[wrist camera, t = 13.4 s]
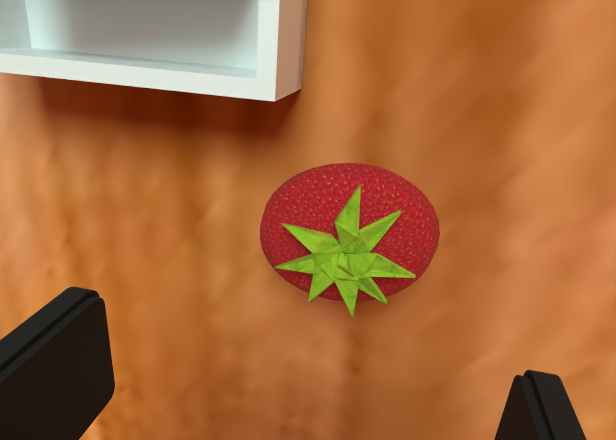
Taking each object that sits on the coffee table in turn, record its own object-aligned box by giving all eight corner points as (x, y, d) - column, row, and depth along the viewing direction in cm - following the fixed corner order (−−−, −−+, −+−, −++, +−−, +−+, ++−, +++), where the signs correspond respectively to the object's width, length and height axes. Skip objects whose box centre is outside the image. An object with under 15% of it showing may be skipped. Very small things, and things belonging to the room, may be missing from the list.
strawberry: (286, 137, 24) (212, 199, 15) (436, 136, 23) (454, 203, 14) (293, 241, 26) (232, 350, 17) (430, 246, 25) (443, 369, 16)
